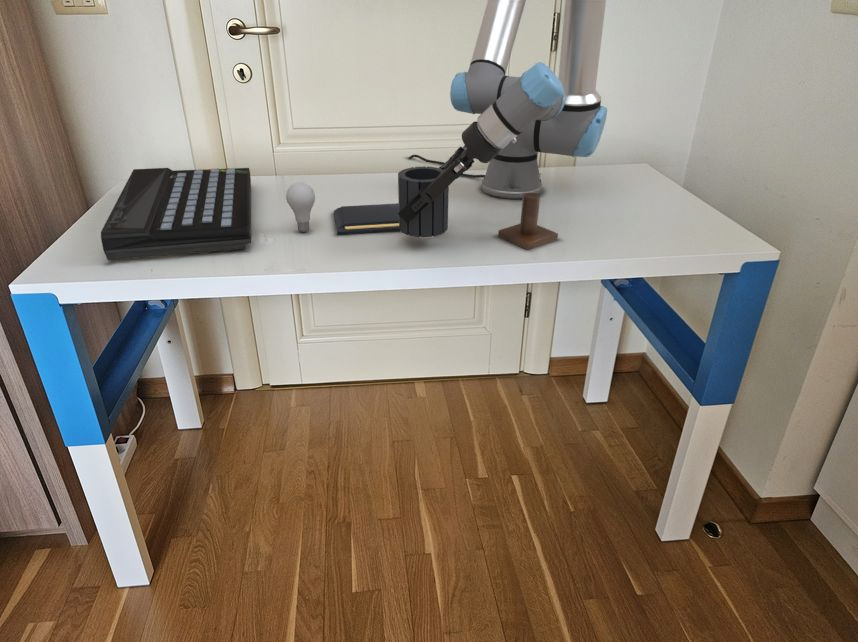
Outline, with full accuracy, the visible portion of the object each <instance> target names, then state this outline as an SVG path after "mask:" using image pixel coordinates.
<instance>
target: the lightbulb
mask: <svg viewBox="0 0 858 642" xmlns="http://www.w3.org/2000/svg"><path fill="white" fill-rule="evenodd" d="M285 199H286V202H287V204H288V205H289V207H290V209H291V210H292V212H293V215H294V219H295V221H296V226H297V230H298V231H299V232H301V233H307V231H309V230H310V221H311V211H312V208H313V206H314V204H315V202H316V193H315V191H314V189H313V188H312V186H311V185H310V184H308V183H306V182H304V181H303V182H302V181H301V182H300V181H298V182H295V183H292V184H290V186H289V187H288V188H287V190H286V193H285Z"/></svg>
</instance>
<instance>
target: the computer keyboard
mask: <svg viewBox="0 0 858 642" xmlns="http://www.w3.org/2000/svg"><path fill="white" fill-rule="evenodd" d="M251 193H252V178H251V170H250V168H249V167H227V168H207V169H180V170H178V169H177V170H173V169H171V168H169V167H157V168H155V167H154V168H153V167H152V168H134V169H132V171H131V174H130V175H129V177H128V179H127V181H126V183H125V185H124V187H123V188H122V190H121V193H120V195H119V197H118V198H117V200H116V202H115V204H114V206H113V208H112V209H111V211H110V214H109V215H108V217H107V219H106V221H105V223H104V225H103V227H102V228H101V231H100V241H101V246H102V251H103V253H104V255H105V257H106V259H107V261H111V260H113V261H115V260H125V259H126V260H127V259H137V258H150V257H161V256H162V257H164V256H172V255H186V254H197V253H209V252H211V253H212V252H223V251H233V250H234V251H235V250H245V249H246V244H251V243H252V206H251V205H252V194H251Z"/></svg>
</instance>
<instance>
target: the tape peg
mask: <svg viewBox="0 0 858 642" xmlns="http://www.w3.org/2000/svg"><path fill="white" fill-rule="evenodd" d="M540 200H541V194H536V193H525V194H523V199H521V201H522V202H521V209H520V210H521V212H520V223H518V224H515V225H512V226H507V227H505V228H502V229H498V231H497V237H498V238H500V239H503V240H504V241H506V242H509V243H511V244H514V245H515V246H518V247H521V248H522V249H525V250H531V249H534V248H537V247H540V246H544V245H546V244H550V243H553V242H555V241H558V236H559V233H558V232H555V231H553V230H551V229H548V228H545V227H543V226H541V225H539V224H538V222H539V213H540V204H541V203H540V202H541V201H540Z"/></svg>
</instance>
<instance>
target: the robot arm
mask: <svg viewBox="0 0 858 642" xmlns="http://www.w3.org/2000/svg"><path fill="white" fill-rule="evenodd" d="M526 2H527V0H487V1H486V5H485V8H484V9H485V10H484V12H483V15H482V19H481V23H480V27H479V30H478V35H477V38H476V41H475V45H474V49H473V53H472V56H471V59H470V63H469V67H468V70H467V71H463V72H458V73H456V74H455V75H454V77H453V79H452V80H451V84H450V93H449V97H450V102H451V105H452V107H453V109H454V110H456V112H462V113H466V114H472V115H475V114H477V115H478V117H477V118H476V119H477V120H476V121H473V122H472V123H471V124H470V125H468V126H467V128H466V129H464V130H463V131H462V133H461V140H462V143H463V146H459V147H458V148H457V149H456V151H454V153H453V154H452V155H451V156H450V157H449V158H448V159H447V160H446V161H445V162H444V161H439V160H432V159H428V158H425V157H423V156H421V155H418V154H411V155H410V156H409V157H408V160H411V159H413V158H417V159H419V160H421V161H423V162H427V163H430V164H437V165H441V166H439V167H438V168H440V169H443V171H442V172H441V173H440V174H439V175H438V176H437V177H436V178H435V179H434V181H433V182H432V183H431V184H430V185H429V186H428V187H427V188H426V189H425V190H424V191H421V189H419V190H418V191H417V192H418V193H419V194H418V195H417V196H416V197H415V198H414V199H412V200H411V201H410V202H409V203H408V204H407V205H406V206H405V207H404V208H403V209H402V210H401V211H400V212H399V213H398V215H399V216H400V217H401V218H402V219H403V220H404V221H405V222H406V223H408V222H409V221H410V220H412V219H413V218H414V217H415V216H416V215H417V214H418V213H419V212H420V211H421V210H423V209H424V208H425V207H426V206H427V205H428V204H431V203H432V202H433V201H434V200H435V199H436V198H437V197H438V196H439V195H440V194H441V193H442V192H443V191H444V190H445V189H446V188H447V187H448V186H449V187H450V185H452V183H454V182H455V181H456V180H458V179H459V178H460V177H467V178H475V179H478V178H482V181H481V190H482V191H483V193H485V194H487V195H489V196H492V197H495V198H499V199H510V200H522V199H523V194H525V193H536V194H539V195H541V193H542V188H543V182H542V179H541V176H542V172H540V168H539V164H538V154H539V153H542V154H552V155H561V156H568V157H572V158H577V157H578V158H589V157H591V156H592V155H593V154H594V153H595V152H596V150H597V148H598V145H599V143H600V140H601V137H602V135H603V131H604V128H605V125H606V121H607V116H608V108H607V107H606V106H604V105H601V103H602V96H601V94H600V93H599V92H598V91H597V81H598V72H599V63H600V56H601V55H600V54H601V47H602V38H603V31H604V22H605V21H604V20H605V14H606V13H605V12H606V5H607V4H606V3H607V0H564V4H563V5H564V6H563V7H564V8H563V18H562V29H561V42H560V54H559V66H558V76H557V74H556V73H554V71H553V70H552V69H551V67H550V66H548V65H547V64H546V63H544V62H542V61H539V62H538V61H537V62H536V63H534V65H532V66H531V67H530V68H528V69H527V70H526V71H524V72H523V73H522V74H521V75H520V76H513V75H512V76H510V75H506V74H507V69H508V66H509V62H510V59H511V56H512V52H513V48H514V45H515V41H516V38H517V34H518V30H519V26H520V23H521V19H522V16H523V14H524V13H523V12H524V9H525V5H526ZM474 159H475V160H478V162H479V163H482V164H487V169H486V172H485V174H469V173H465V172H466V171H468V170H469V169H470V168H471V167H473V164H474V163H475V160H474Z"/></svg>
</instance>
